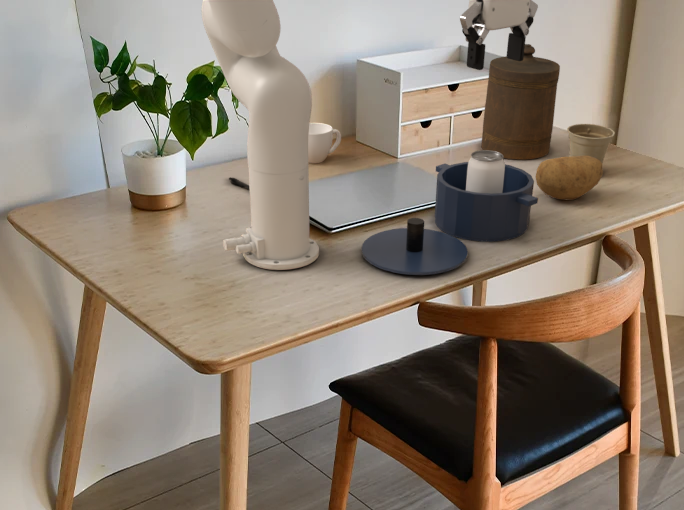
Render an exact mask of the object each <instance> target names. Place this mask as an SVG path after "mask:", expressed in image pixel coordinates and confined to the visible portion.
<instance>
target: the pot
mask: <svg viewBox="0 0 684 510" xmlns="http://www.w3.org/2000/svg"><path fill="white" fill-rule="evenodd" d="M468 162H469V161H463V162H458V163H452V164H449V163H448V164H447V163H442V164H439V165H436V166H435V172H436V173H437V175H436V186H435V203H434V205H435V206H434V223H435V225H436V227H437V228H438V229H439V230H441V232H443V233H446V234H449V235H451V236H453V237H455V238H457V239H462V240H467V241H474V242H492V243H493V242H502V241H508V240H509V241H510V240H512V239H515V238H519V237H520V236H522V235H524V234H525V233H526V231H527V230H528V227H529V225H530V217H531V210H532V206H534V205H536V204H538V202H539V197H537V196H533V193H534V184H535V180H534V178H533V176H532V174H531V173H529V172H527V171H526V170H524V169H522V168H519V167H516V166H513V165H512V164H511V165H510V164H505V171H504V182H503V191H502V193H494V194H490V193H476V192H470V191H466V180H467V169H468Z"/></svg>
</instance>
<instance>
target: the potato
mask: <svg viewBox="0 0 684 510" xmlns="http://www.w3.org/2000/svg"><path fill="white" fill-rule="evenodd" d="M603 175H604V169H603V164H602V163H601V161H600V160H598V159H596V158H594V157H591V156H570V155H569V156H561V157H555V158H548V159H545V160H544V161H542V162H540V164H539V165H538V166H537V169H536V172H535V181H536V185H537V187H538V188H539V189H540V191H541V192H543V194H545V195H547V196H549V197H551V198H553V199H556V200H562V201H571V200H576V199H579V198H581V197H582V196H583V195H585V194H587V193H589V192H590V191H591V190H592V189H593V188H594V187H596V186H597V185H598V184H599V182H600V181H601V179H602V177H603Z"/></svg>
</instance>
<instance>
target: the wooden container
mask: <svg viewBox="0 0 684 510" xmlns="http://www.w3.org/2000/svg"><path fill="white" fill-rule="evenodd" d="M535 53H536V49H535V47H534V46H532V44H529V43H525V48H524V57H523V61H516V60H512V59H508V58H507V55H506V56H500V57H499V56H498V57H496V58H494V59H491V61H490V63H489V69H488V79H487V87H486V96H485V103H484V111H483V112H484V113H483V122H482V135H481V145H480V146H481V150H490V151H496V152H499V153H501V154H502V155H503V156H504V157H503V159H508V160H520V161H521V160H534V159H539V158H542V157H545V156H547V155H548V154H549V153H550V150H551V141H552V134H553V129H554V120H555V119H554V118H555V107H556V99H557V91H558V83H559V79H560V72H561V65H560V64H559V63H558V62H556V61H554V60H552V59H548V58H543V57H537V56H534V54H535Z"/></svg>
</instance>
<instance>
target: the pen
mask: <svg viewBox="0 0 684 510" xmlns="http://www.w3.org/2000/svg"><path fill="white" fill-rule="evenodd" d="M228 180H229V182H230V184H232V185H233V186H237V187H240V188H243V189H245V190H247V191H249V192H250V189H249V184H247V183H245V182H243V181H242V180H239V179H237V178H235V177H228Z"/></svg>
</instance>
